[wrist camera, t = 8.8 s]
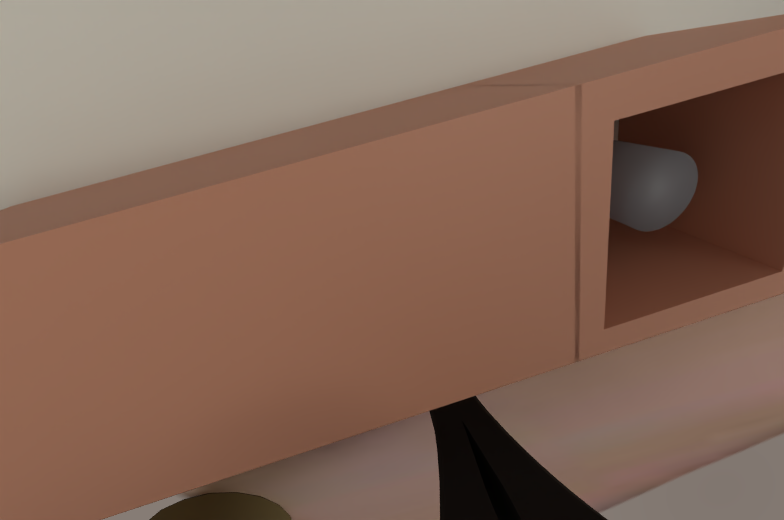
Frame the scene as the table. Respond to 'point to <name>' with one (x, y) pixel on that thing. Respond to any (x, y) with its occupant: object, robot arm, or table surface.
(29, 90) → the board
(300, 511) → the table surface
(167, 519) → the cork
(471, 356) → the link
